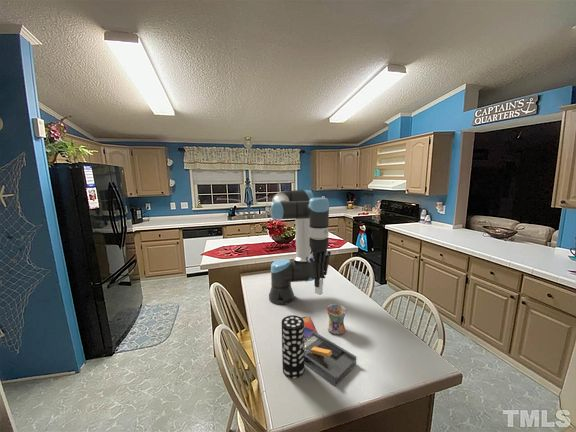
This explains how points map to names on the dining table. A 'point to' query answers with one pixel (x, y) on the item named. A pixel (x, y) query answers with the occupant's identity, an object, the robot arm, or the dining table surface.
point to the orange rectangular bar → (321, 351)
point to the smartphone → (308, 326)
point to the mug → (336, 318)
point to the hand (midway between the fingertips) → (318, 293)
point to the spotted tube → (293, 346)
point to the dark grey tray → (328, 359)
